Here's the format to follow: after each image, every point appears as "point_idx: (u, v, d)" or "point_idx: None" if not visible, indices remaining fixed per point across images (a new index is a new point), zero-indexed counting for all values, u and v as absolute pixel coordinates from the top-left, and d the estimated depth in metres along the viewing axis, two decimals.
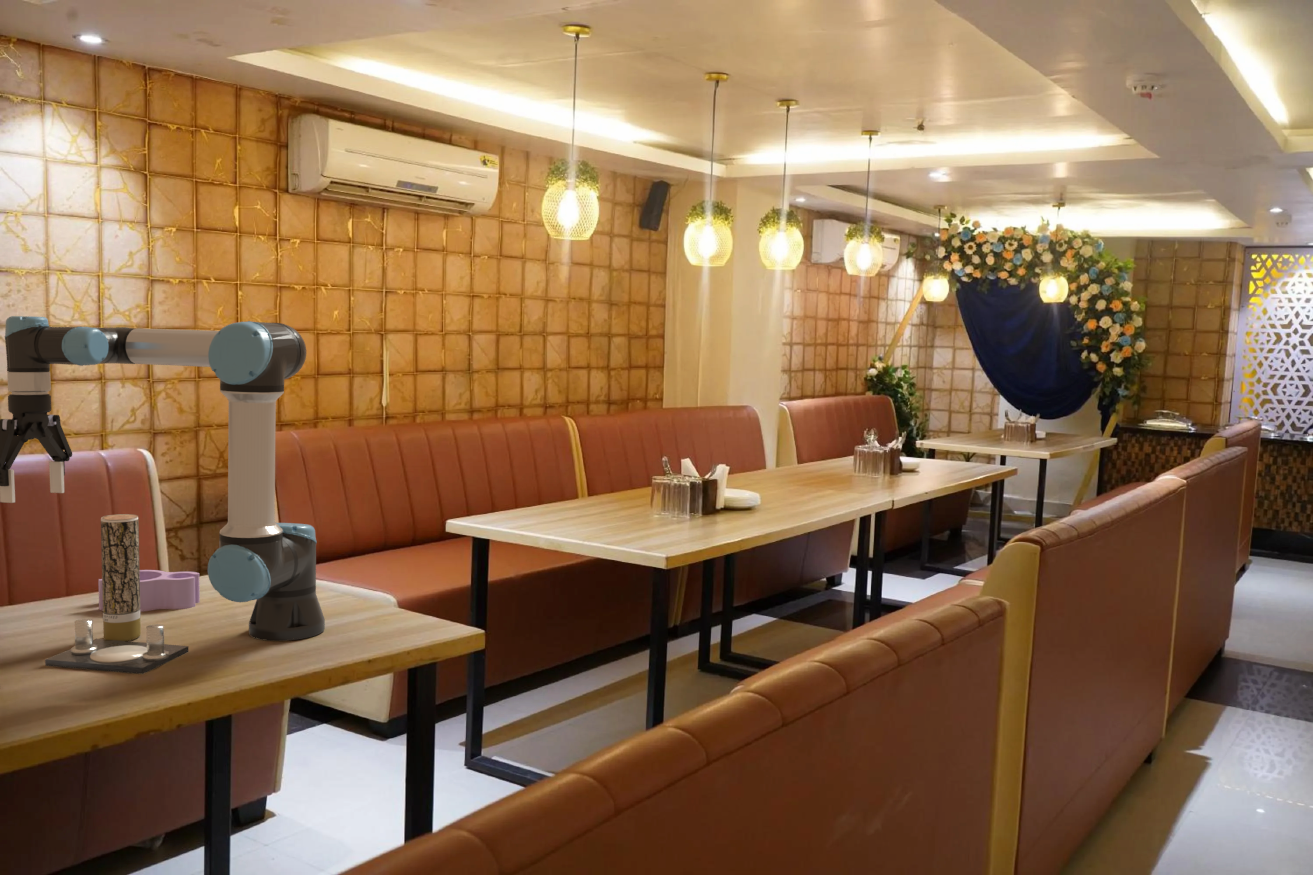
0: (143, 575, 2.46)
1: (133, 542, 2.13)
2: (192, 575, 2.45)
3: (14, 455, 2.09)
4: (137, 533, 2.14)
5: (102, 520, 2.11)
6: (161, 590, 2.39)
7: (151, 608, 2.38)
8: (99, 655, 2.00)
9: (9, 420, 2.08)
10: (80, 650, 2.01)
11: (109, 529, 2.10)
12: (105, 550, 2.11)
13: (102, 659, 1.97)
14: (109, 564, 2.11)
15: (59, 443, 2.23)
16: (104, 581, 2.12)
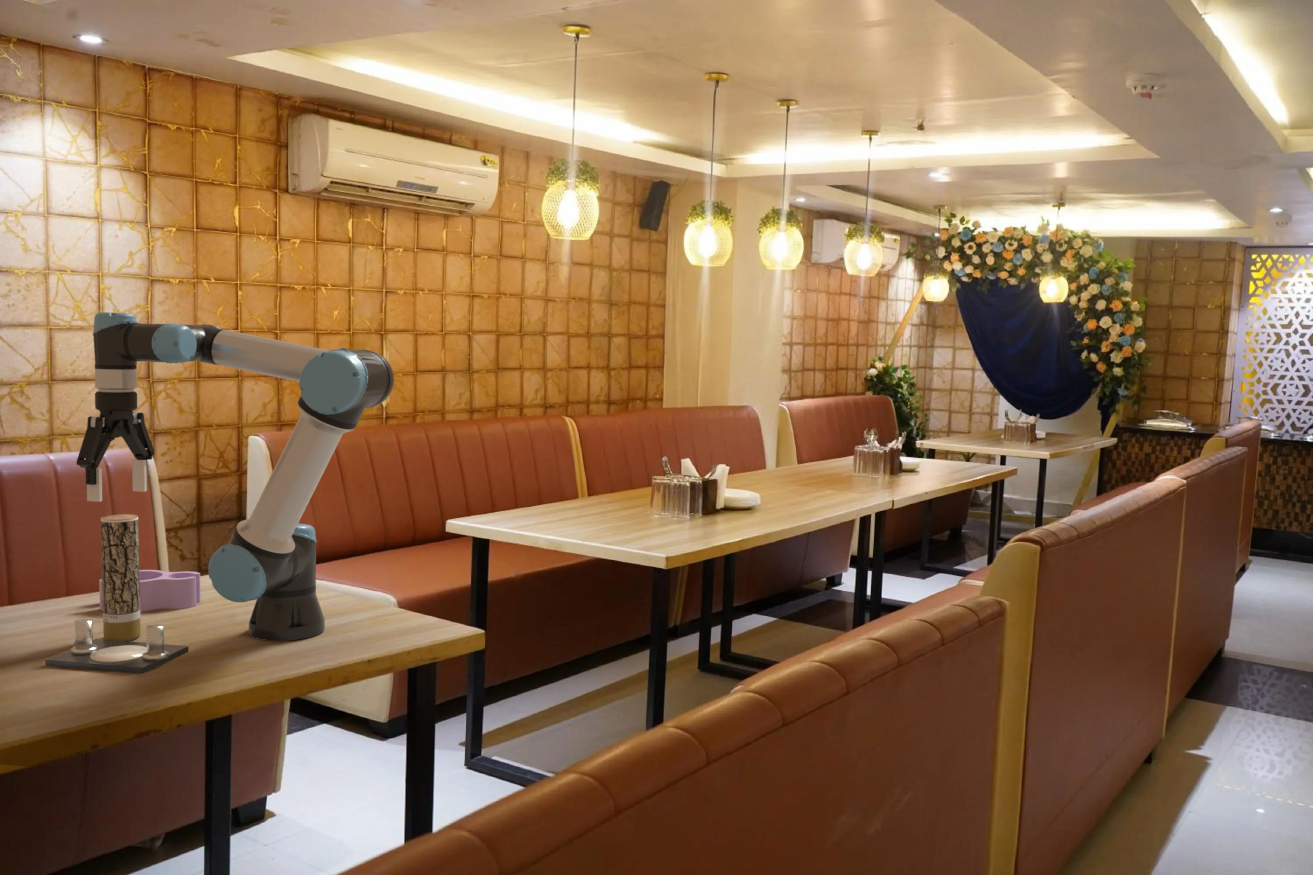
0: (144, 575, 2.46)
1: (133, 542, 2.13)
2: (193, 575, 2.45)
3: (102, 454, 2.06)
4: (137, 533, 2.14)
5: (102, 520, 2.11)
6: (162, 590, 2.39)
7: (152, 608, 2.38)
8: (99, 655, 2.00)
9: (98, 418, 2.05)
10: (80, 650, 2.01)
11: (109, 529, 2.10)
12: (105, 550, 2.11)
13: (102, 659, 1.97)
14: (109, 564, 2.11)
15: (143, 441, 2.20)
16: (104, 581, 2.12)
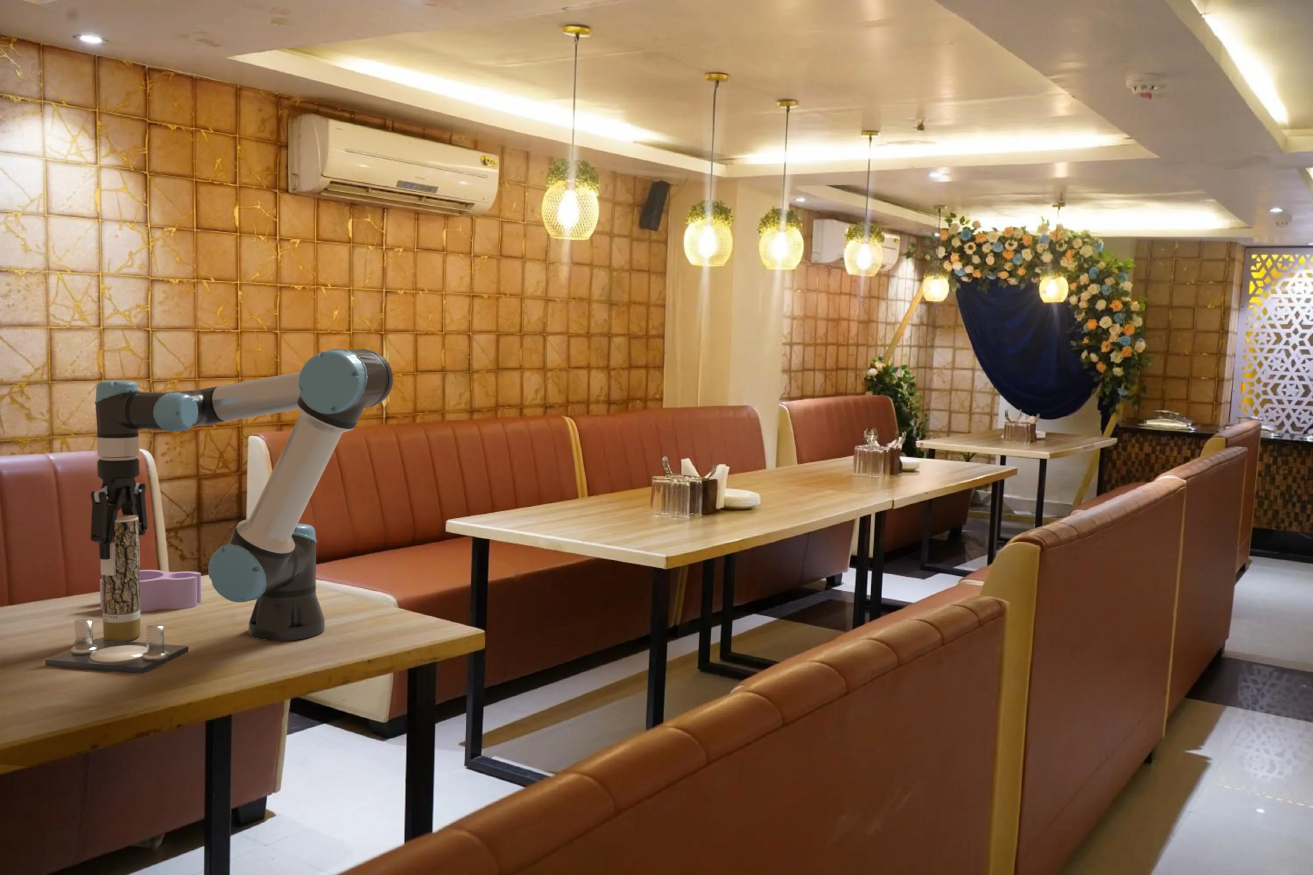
0: (144, 575, 2.46)
1: (133, 542, 2.13)
2: (194, 575, 2.45)
3: (113, 527, 2.10)
4: (137, 533, 2.14)
5: None
6: (162, 590, 2.39)
7: (153, 608, 2.38)
8: (99, 655, 2.00)
9: (100, 493, 2.06)
10: (80, 650, 2.01)
11: None
12: None
13: (102, 659, 1.97)
14: None
15: (138, 513, 2.19)
16: (104, 581, 2.12)
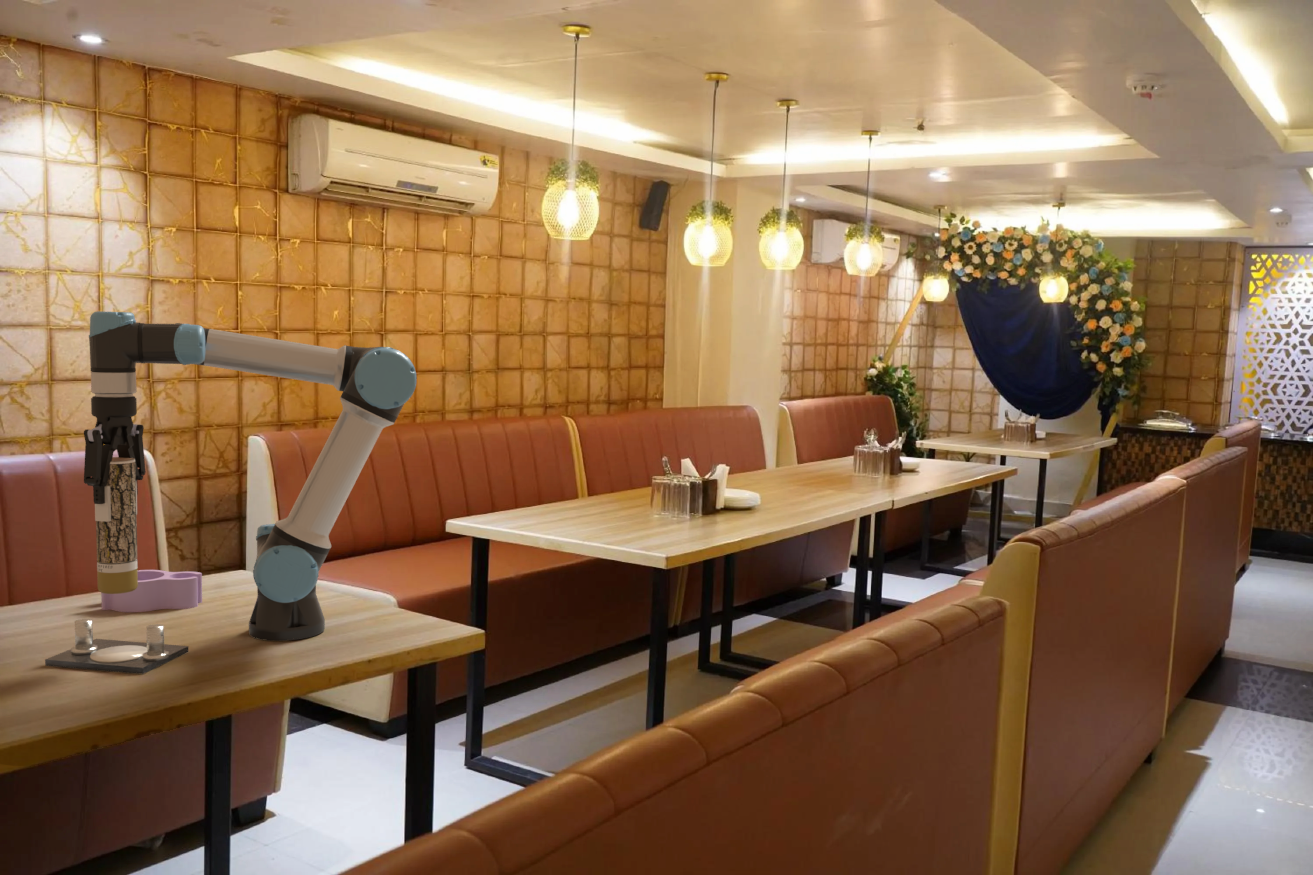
0: (146, 575, 2.46)
1: (130, 486, 1.98)
2: (194, 575, 2.45)
3: (108, 469, 1.94)
4: (134, 477, 1.99)
5: None
6: (163, 590, 2.39)
7: (153, 608, 2.38)
8: (99, 655, 2.00)
9: (94, 432, 1.91)
10: (80, 650, 2.01)
11: None
12: None
13: (102, 659, 1.97)
14: None
15: (136, 456, 2.03)
16: (98, 528, 1.97)
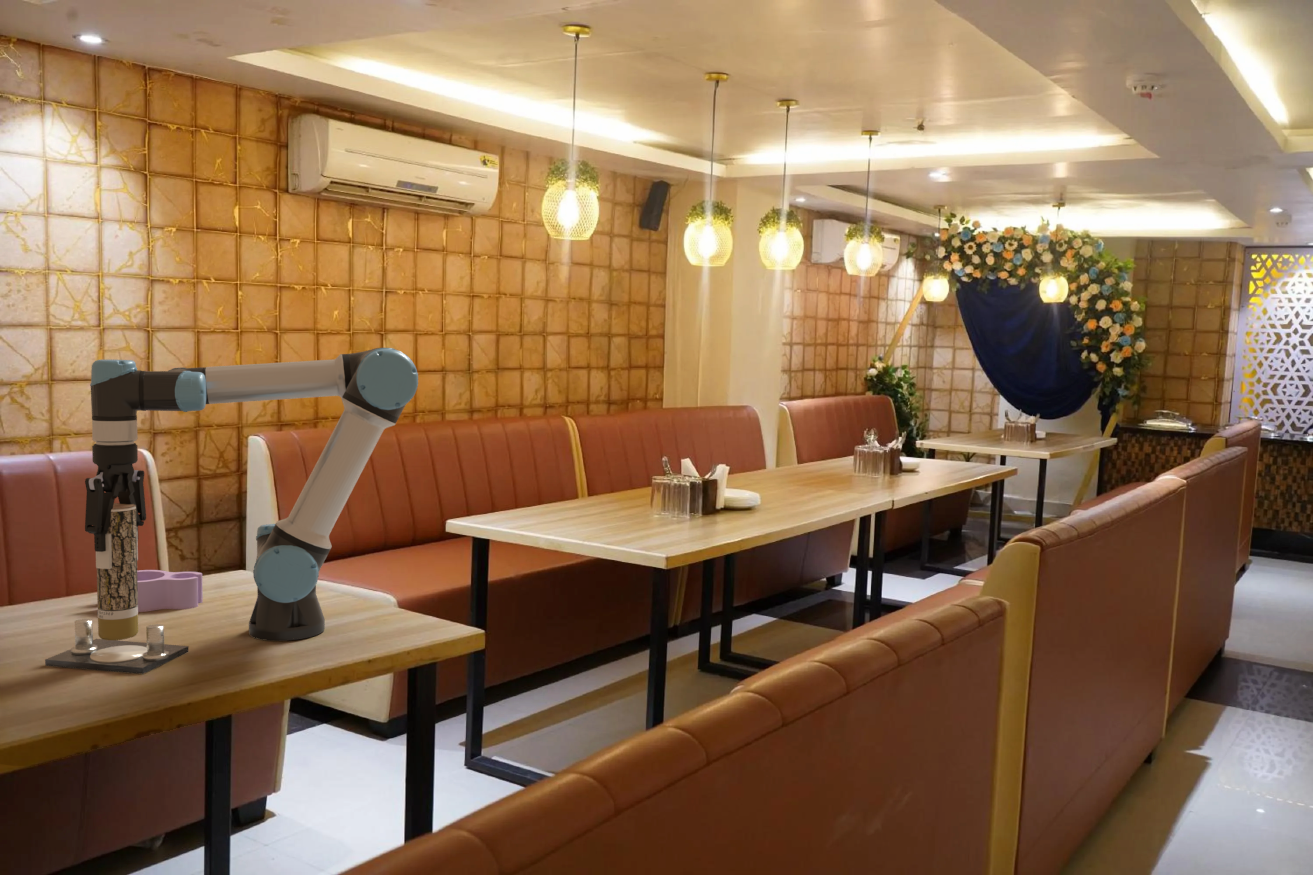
0: (146, 575, 2.46)
1: (131, 532, 1.98)
2: (195, 575, 2.45)
3: (109, 516, 1.95)
4: (134, 523, 2.00)
5: None
6: (164, 590, 2.39)
7: (154, 608, 2.38)
8: (99, 655, 2.00)
9: (95, 480, 1.92)
10: (80, 650, 2.01)
11: None
12: None
13: (102, 659, 1.97)
14: None
15: (136, 502, 2.04)
16: (98, 575, 1.97)
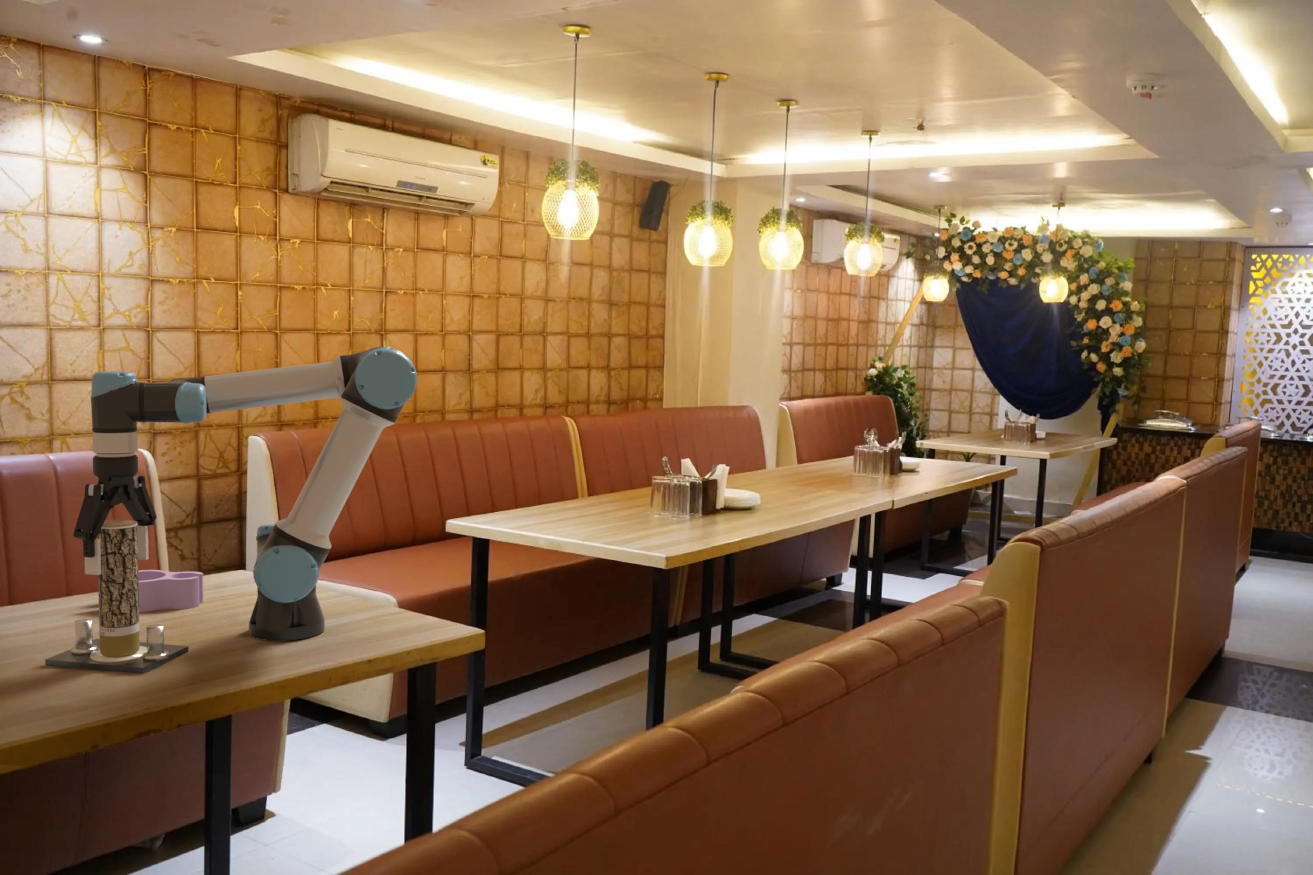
0: (147, 575, 2.46)
1: (132, 549, 1.99)
2: (196, 575, 2.45)
3: (101, 523, 1.93)
4: (136, 540, 2.00)
5: None
6: (165, 590, 2.39)
7: (155, 608, 2.38)
8: (99, 655, 2.00)
9: (96, 486, 1.92)
10: (80, 650, 2.01)
11: (106, 536, 1.96)
12: (102, 558, 1.97)
13: (102, 659, 1.97)
14: (106, 573, 1.97)
15: (144, 505, 2.06)
16: (100, 592, 1.98)
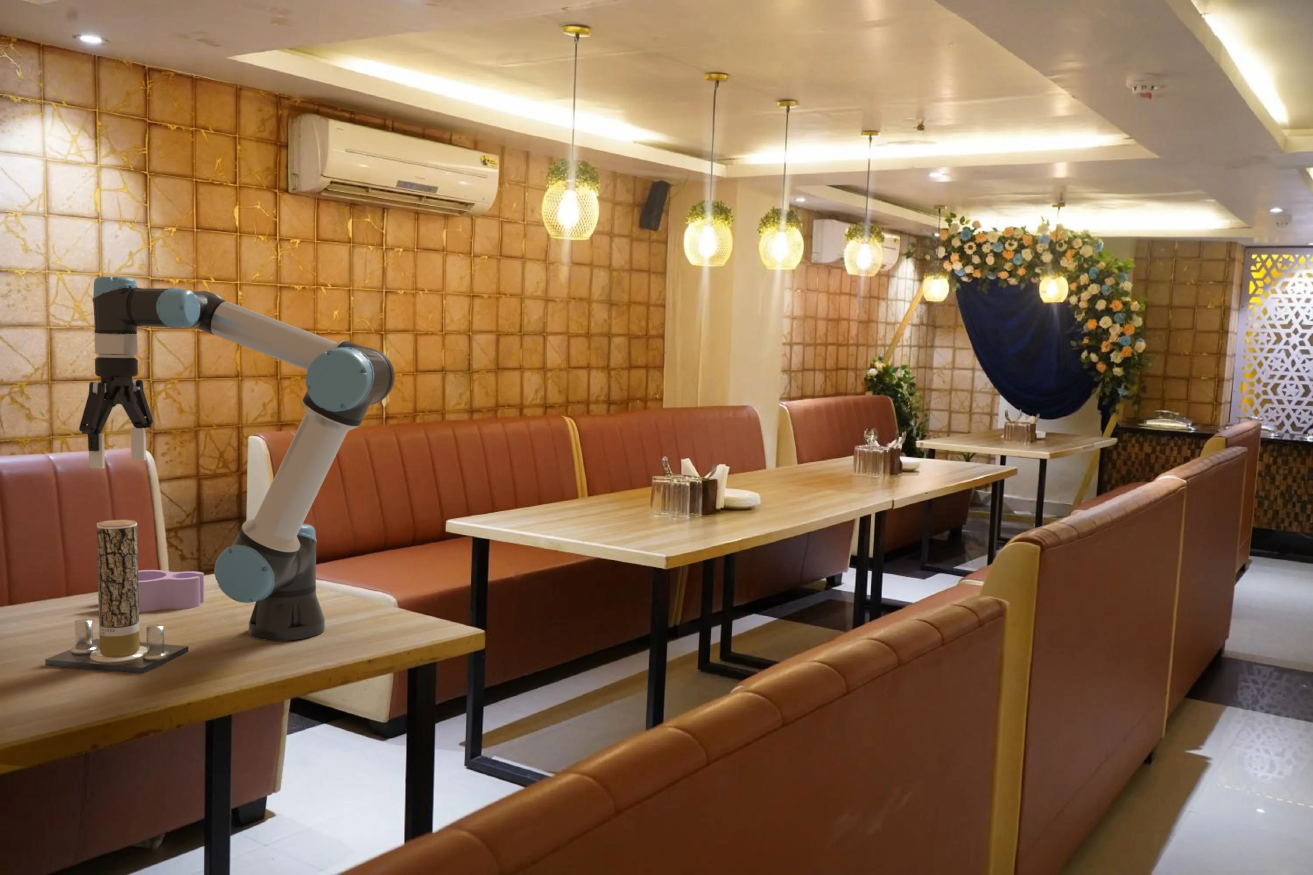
0: (147, 575, 2.46)
1: (132, 549, 1.99)
2: (197, 575, 2.45)
3: (104, 420, 2.03)
4: (136, 540, 2.00)
5: (98, 526, 1.97)
6: (166, 590, 2.39)
7: (156, 608, 2.38)
8: (99, 655, 2.00)
9: (100, 383, 2.02)
10: (80, 650, 2.01)
11: (106, 535, 1.96)
12: (102, 558, 1.97)
13: (102, 659, 1.97)
14: (106, 573, 1.97)
15: (141, 409, 2.17)
16: (100, 592, 1.98)
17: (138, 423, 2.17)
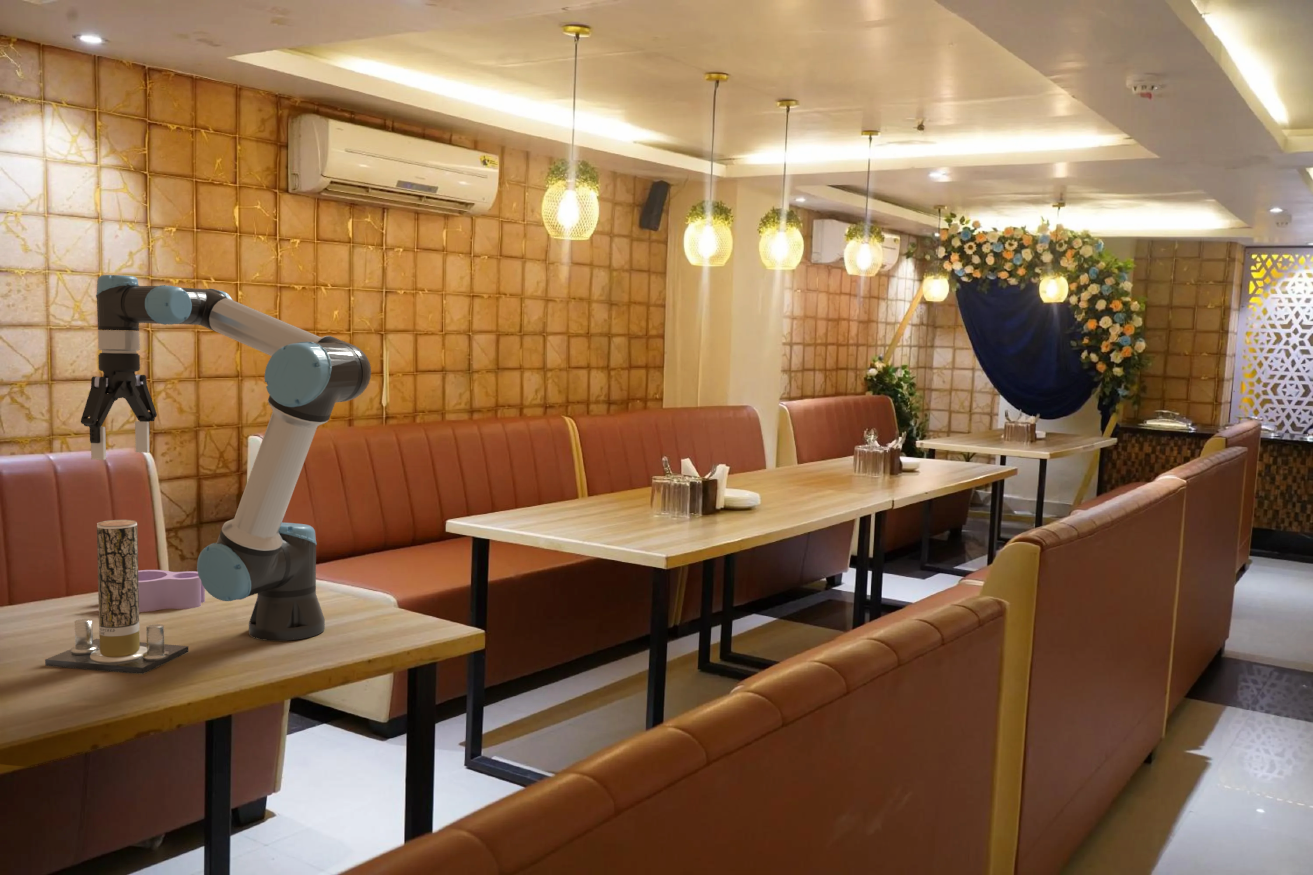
0: (148, 575, 2.46)
1: (132, 549, 1.99)
2: (197, 575, 2.45)
3: (106, 413, 2.11)
4: (136, 540, 2.00)
5: (98, 526, 1.97)
6: (167, 590, 2.39)
7: (157, 608, 2.38)
8: (99, 655, 2.00)
9: (101, 378, 2.10)
10: (80, 650, 2.01)
11: (106, 535, 1.96)
12: (102, 558, 1.97)
13: (102, 659, 1.97)
14: (106, 573, 1.97)
15: (145, 403, 2.24)
16: (100, 592, 1.98)
17: (142, 417, 2.24)
